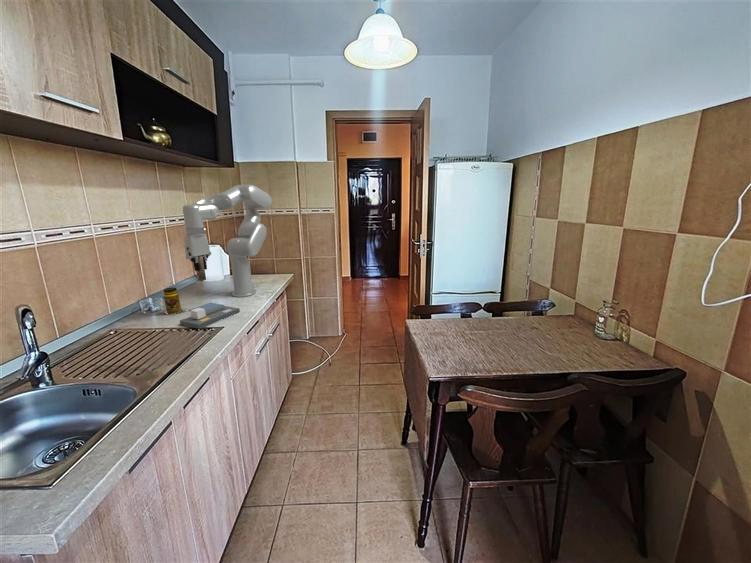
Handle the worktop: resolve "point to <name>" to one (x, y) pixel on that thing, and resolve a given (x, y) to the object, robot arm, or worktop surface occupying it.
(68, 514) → the worktop surface
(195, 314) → the white cube
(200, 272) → the dowel
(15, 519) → the worktop surface
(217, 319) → the switch board
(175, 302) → the condiment
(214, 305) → the tool mat
